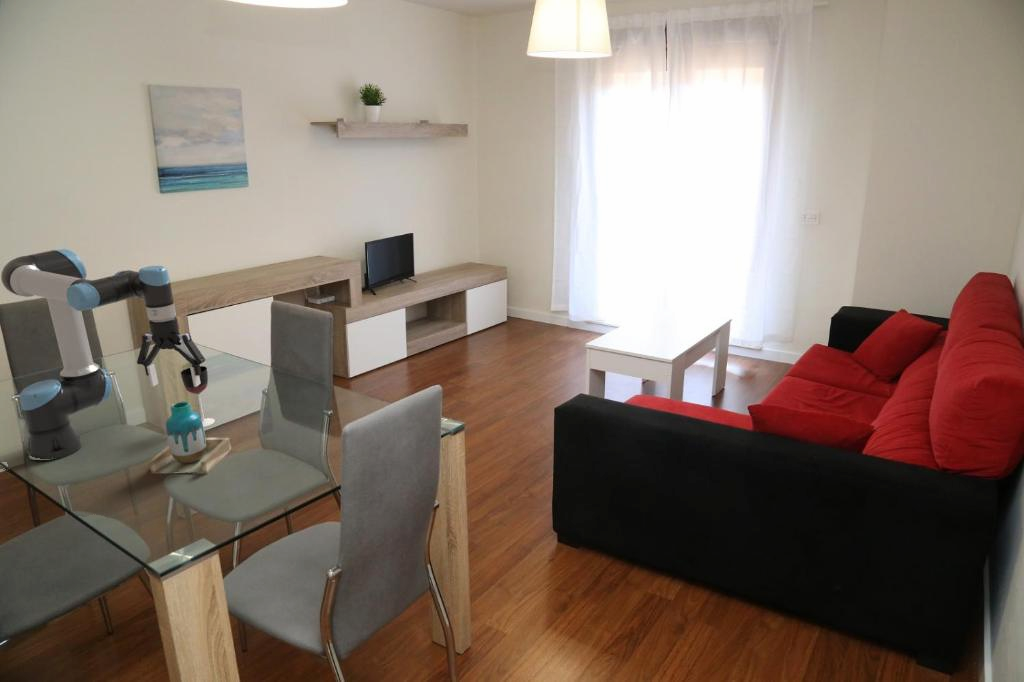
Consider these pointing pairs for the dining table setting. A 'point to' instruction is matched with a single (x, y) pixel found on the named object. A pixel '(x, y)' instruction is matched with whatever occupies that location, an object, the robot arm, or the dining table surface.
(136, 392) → the dining table surface
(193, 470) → the rest
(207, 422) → the wineglass
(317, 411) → the dining table surface
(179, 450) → the vase
